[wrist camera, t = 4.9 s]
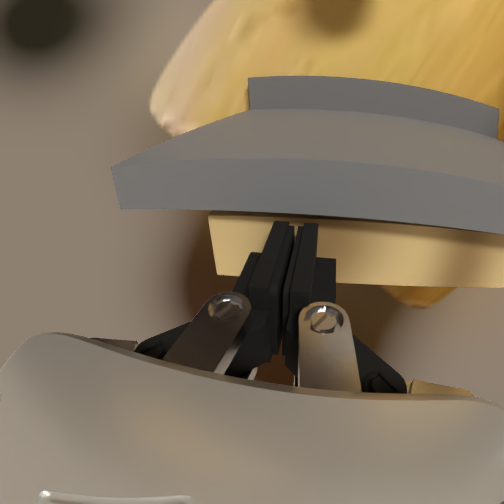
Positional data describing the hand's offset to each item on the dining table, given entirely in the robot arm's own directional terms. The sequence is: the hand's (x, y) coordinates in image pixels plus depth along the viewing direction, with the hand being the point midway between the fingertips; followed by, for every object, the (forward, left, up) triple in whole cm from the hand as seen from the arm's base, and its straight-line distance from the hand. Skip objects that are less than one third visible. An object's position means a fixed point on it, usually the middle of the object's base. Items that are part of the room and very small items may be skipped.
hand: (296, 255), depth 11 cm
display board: (-8, -3, -26) cm, 27 cm away
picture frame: (-8, 0, -19) cm, 20 cm away
